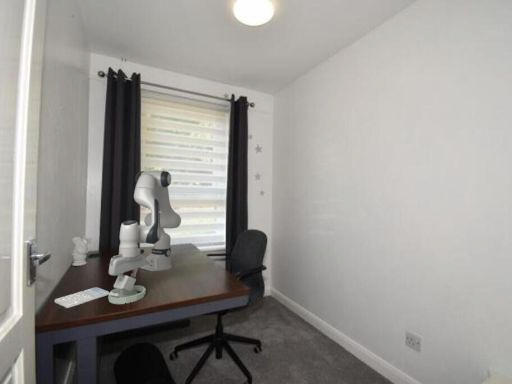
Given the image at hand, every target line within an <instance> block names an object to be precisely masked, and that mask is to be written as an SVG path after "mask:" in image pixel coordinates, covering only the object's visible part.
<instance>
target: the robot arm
mask: <svg viewBox="0 0 512 384" xmlns="http://www.w3.org/2000/svg"><path fill="white" fill-rule="evenodd" d="M134 177H135V188H134V193H133V199H134V201H135V202H136V203H137V204H138V205H139V206H141V207H143V208H146V209H148V210H149V211H150V212H149V213H147V214H146V215H145V216H144V224H145V225H140V224H139V223H138V221H137V220H131V219H129V220H125V221H123V222H122V223H121V225H120V229H119V230H120V231H119V246H118V248H119V249H118V255H113V256H112V257H111V259H109V261H110V262H109V265H108V266H109V268H108V274H109V275H110V276H117V278H118V277H119V278H120V279H119V281H121V282H122V281H123V279H124V278H123V276H122V275H124V273H127V272H130V271H132V273H131V275H130V277H132V278H136V276H137V272H138V270H139V269H143V270H145V271H146V270H147V271H148V272H149V271H150V272H158V271H159V272H160V271H166V270H169V269H172V267H173V265H172V259H171V254H172V253H171V252H172V248H171V236H170V234H168V233H167V232H166V231H165V230H164V229H168V230H169V229H176V228H179V227H180V225H181V223H182V218H181V216H180V214H178V213H177V212H176V211H175V210H174V209H173V208H172V207H173V206H172V205H171V201H170V195H169V194H170V193H169V186H170V185H171V184H172V175H171V173H170V172H169V171H167V170H142V171H139V172H137V173H136V175H135V176H134ZM139 244H150V245H153V248H151V249H150V251H151V252H150V253H149V254H148V255H147V256H146V249H145V248H141V247H139Z"/></svg>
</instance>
